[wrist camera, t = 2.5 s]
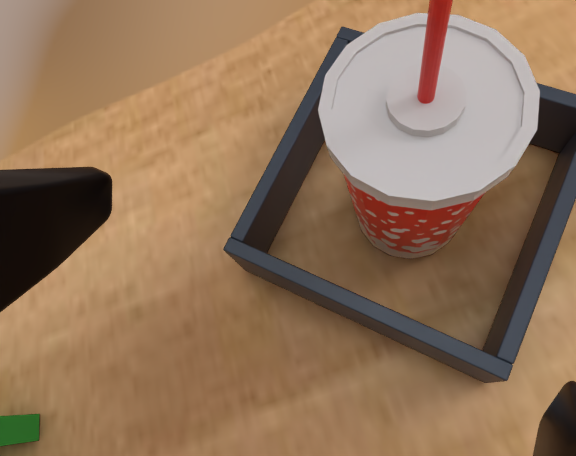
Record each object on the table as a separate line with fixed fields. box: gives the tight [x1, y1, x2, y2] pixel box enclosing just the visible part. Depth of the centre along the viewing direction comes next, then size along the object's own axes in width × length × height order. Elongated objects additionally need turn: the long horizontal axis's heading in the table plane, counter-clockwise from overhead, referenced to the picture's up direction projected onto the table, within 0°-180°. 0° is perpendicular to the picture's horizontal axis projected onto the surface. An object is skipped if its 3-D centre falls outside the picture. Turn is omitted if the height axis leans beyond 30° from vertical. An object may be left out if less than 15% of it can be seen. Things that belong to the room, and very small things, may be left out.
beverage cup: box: [318, 0, 540, 259], centre depth 16 cm, size 6×6×14 cm
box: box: [223, 27, 576, 383], centre depth 21 cm, size 11×11×4 cm
